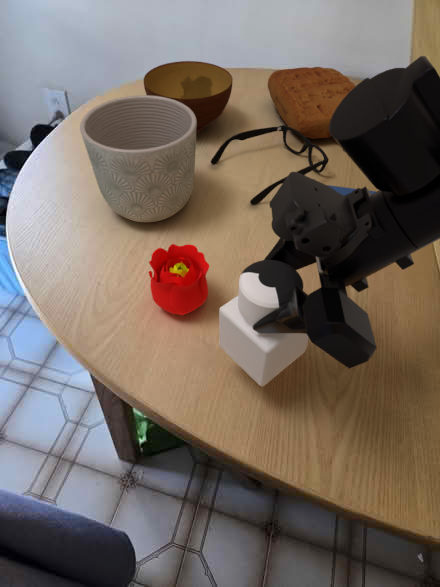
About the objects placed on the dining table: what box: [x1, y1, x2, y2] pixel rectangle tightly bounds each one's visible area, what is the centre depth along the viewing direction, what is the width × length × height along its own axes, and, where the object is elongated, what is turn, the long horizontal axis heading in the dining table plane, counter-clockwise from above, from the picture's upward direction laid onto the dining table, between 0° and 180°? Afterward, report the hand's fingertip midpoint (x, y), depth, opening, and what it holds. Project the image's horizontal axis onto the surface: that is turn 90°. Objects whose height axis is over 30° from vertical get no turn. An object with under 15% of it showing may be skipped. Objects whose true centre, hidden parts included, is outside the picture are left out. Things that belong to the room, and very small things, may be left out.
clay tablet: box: [267, 66, 357, 139], centre depth 91 cm, size 22×17×8 cm
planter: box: [79, 94, 197, 223], centre depth 68 cm, size 17×17×15 cm
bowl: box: [143, 60, 233, 134], centre depth 88 cm, size 18×18×10 cm
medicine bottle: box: [218, 259, 310, 387], centre depth 44 cm, size 7×7×12 cm
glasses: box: [210, 124, 329, 205], centre depth 80 cm, size 17×18×5 cm
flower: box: [148, 243, 210, 316], centre depth 57 cm, size 8×8×8 cm
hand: (254, 303), depth 42 cm, fingers closed on medicine bottle, 6 cm apart
